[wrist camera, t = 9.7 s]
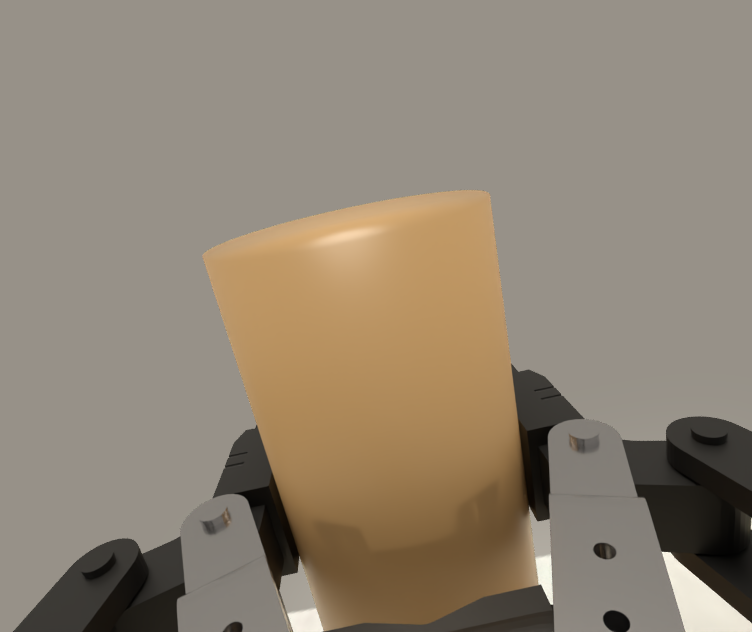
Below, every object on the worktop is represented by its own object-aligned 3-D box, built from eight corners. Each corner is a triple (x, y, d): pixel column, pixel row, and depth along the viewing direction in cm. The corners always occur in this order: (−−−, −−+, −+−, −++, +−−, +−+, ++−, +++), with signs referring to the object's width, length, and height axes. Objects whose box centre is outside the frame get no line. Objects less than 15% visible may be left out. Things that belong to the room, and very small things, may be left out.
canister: (370, 878, 11) (154, 284, 6) (361, 651, 16) (237, 231, 11) (597, 829, 11) (538, 201, 6) (516, 618, 16) (453, 184, 11)
